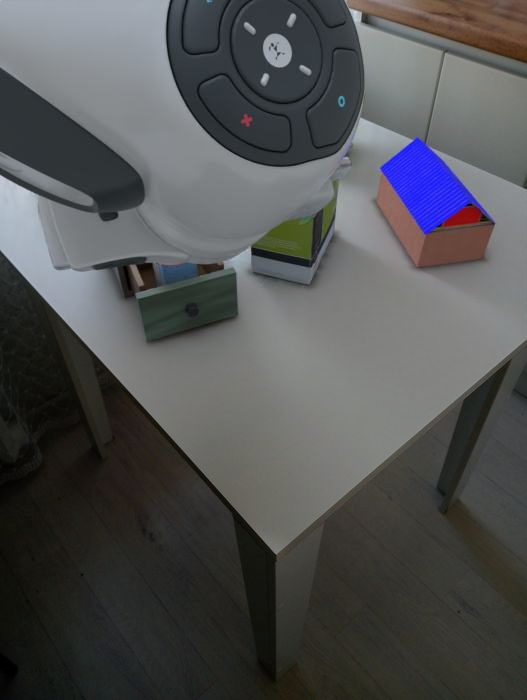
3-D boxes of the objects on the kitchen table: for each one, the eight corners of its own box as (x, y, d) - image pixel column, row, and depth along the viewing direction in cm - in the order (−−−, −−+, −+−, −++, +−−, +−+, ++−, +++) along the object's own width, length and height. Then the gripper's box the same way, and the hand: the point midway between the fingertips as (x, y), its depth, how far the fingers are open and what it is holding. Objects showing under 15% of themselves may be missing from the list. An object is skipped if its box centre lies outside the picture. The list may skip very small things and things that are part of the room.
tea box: (279, 221, 97) (282, 141, 86) (335, 233, 95) (345, 152, 84) (249, 273, 88) (247, 190, 77) (309, 287, 85) (317, 205, 74)
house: (416, 269, 88) (432, 206, 80) (373, 200, 102) (384, 140, 93) (485, 259, 90) (508, 197, 82) (434, 193, 103) (450, 133, 95)
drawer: (241, 319, 79) (239, 277, 73) (149, 347, 76) (139, 305, 70) (204, 256, 89) (200, 214, 83) (121, 277, 85) (111, 235, 80)
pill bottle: (207, 285, 82) (201, 222, 74) (186, 311, 79) (178, 247, 70) (172, 274, 84) (162, 211, 76) (150, 299, 80) (137, 235, 72)
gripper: (350, 105, 35) (287, 170, 48) (11, 163, 30) (45, 217, 43) (373, 204, 35) (304, 241, 49) (43, 276, 30) (67, 296, 44)
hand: (180, 231), depth 46 cm, fingers open, 8 cm apart
